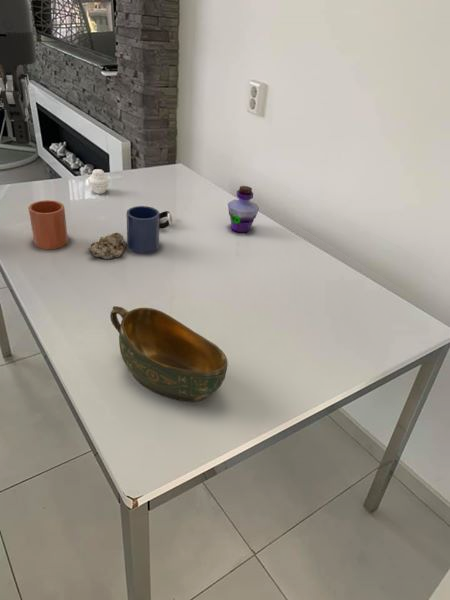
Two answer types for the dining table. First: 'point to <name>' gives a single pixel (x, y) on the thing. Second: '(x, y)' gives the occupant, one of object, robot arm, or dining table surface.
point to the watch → (168, 222)
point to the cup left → (48, 224)
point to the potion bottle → (242, 210)
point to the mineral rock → (109, 246)
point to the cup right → (143, 229)
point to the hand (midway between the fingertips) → (23, 142)
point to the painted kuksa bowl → (168, 354)
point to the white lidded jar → (98, 181)
